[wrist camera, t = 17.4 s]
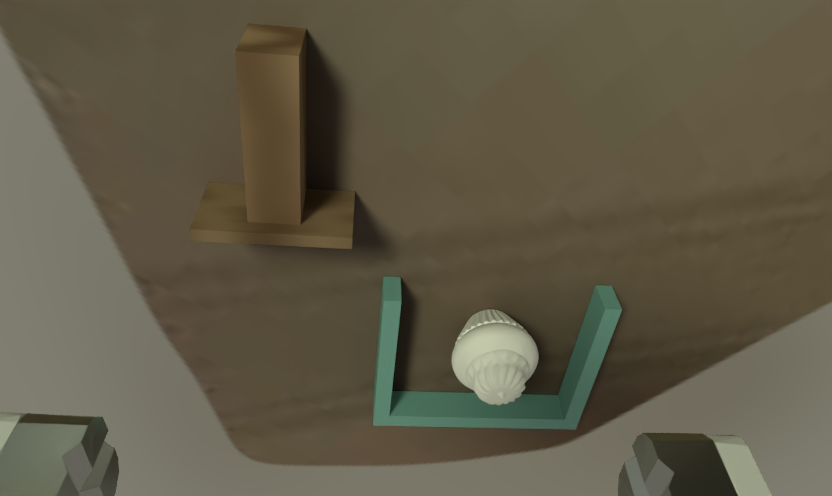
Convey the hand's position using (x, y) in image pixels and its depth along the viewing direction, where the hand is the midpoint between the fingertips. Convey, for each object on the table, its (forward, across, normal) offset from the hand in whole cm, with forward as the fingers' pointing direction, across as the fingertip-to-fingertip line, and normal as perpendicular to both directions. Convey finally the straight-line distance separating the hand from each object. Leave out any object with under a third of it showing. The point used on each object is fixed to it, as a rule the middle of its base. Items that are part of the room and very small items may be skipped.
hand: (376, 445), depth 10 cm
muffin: (+28, -8, +25) cm, 39 cm away
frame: (+28, -9, +27) cm, 40 cm away
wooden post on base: (+28, +6, +9) cm, 30 cm away
